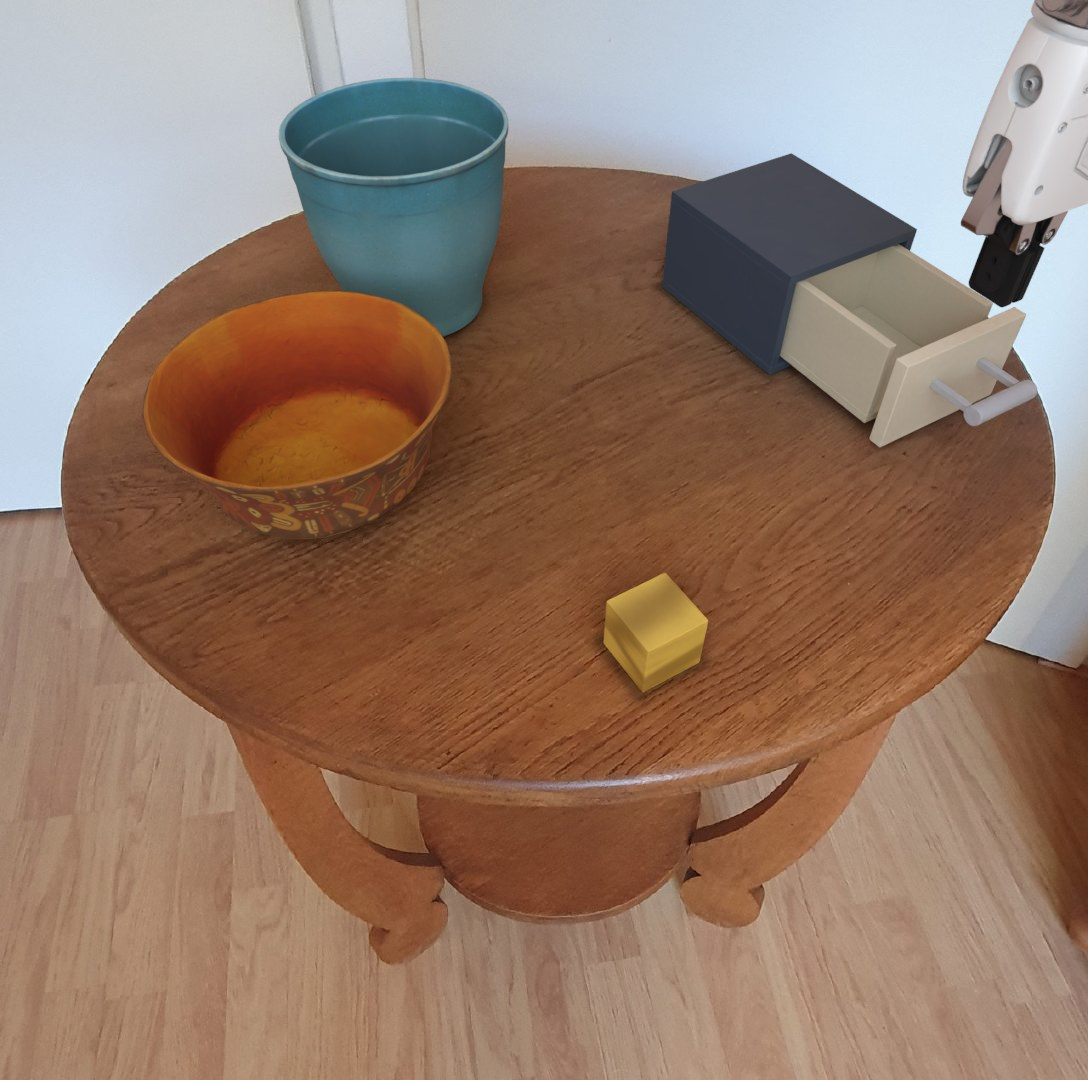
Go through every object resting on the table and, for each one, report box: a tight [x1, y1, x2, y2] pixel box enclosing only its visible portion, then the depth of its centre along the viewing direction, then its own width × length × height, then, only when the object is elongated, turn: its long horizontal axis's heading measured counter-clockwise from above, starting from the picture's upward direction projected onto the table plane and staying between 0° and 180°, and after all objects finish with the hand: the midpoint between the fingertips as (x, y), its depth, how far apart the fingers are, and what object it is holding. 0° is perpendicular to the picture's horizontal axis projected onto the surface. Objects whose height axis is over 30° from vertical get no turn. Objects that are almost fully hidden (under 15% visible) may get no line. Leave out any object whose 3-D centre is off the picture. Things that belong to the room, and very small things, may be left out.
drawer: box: [780, 244, 1038, 448], centre depth 75 cm, size 20×12×8 cm, turn 31°
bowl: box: [141, 290, 453, 540], centre depth 68 cm, size 21×21×10 cm
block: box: [602, 572, 709, 694], centre depth 59 cm, size 4×4×4 cm
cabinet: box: [661, 152, 918, 376], centre depth 83 cm, size 16×14×10 cm
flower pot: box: [278, 77, 509, 338], centre depth 81 cm, size 18×18×17 cm
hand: (993, 293), depth 63 cm, fingers closed
